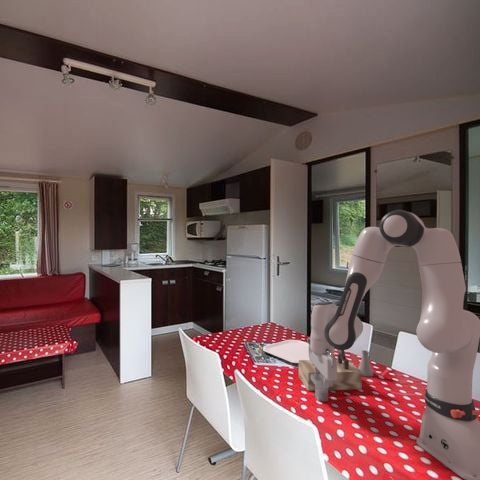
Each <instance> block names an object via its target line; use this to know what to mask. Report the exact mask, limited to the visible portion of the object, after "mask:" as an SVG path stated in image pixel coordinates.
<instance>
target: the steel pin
mask: <svg viewBox="0 0 480 480" xmlns="http://www.w3.org/2000/svg"><path fill="white" fill-rule="evenodd" d="M311 380H312V382H313V383H314V384H315V390H314V397H315V399H316V400H317V401H318V402H328V401H329V390H328V388H324V387H323V381H324V376H323V375H322V374H311ZM333 382H334V381H330V382H329V387H331V386H333Z"/></svg>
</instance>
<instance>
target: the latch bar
mask: <svg viewBox="0 0 480 480" xmlns="http://www.w3.org/2000/svg"><path fill="white" fill-rule="evenodd" d="M337 351H338V354H339V356H340V359H341V360H343V361H344V359H346V354H345V350H338V349H337Z"/></svg>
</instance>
